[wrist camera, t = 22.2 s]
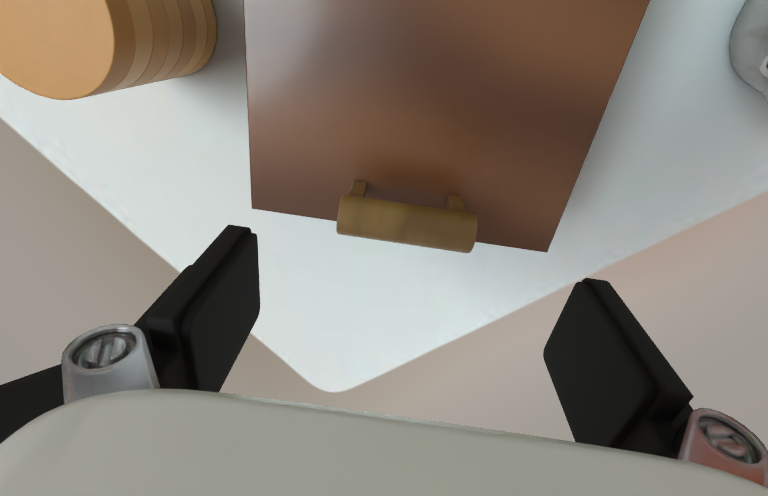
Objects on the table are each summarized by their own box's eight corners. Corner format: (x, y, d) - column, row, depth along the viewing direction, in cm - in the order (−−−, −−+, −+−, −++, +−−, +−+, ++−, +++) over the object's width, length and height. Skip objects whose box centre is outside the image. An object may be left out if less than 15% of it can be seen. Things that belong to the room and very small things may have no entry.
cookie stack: (106, -68, 20) (-83, -128, 13) (223, -26, 21) (111, -57, 13) (111, 55, 24) (-40, 70, 16) (212, 90, 24) (116, 120, 16)
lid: (542, 245, 22) (576, 301, 18) (256, 203, 22) (217, 248, 18) (689, -123, 14) (817, -192, 10) (243, -197, 14) (163, -302, 10)
